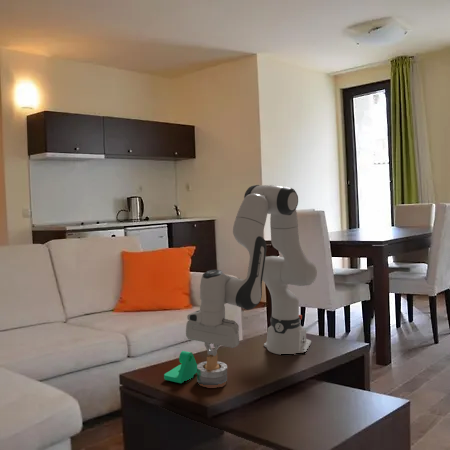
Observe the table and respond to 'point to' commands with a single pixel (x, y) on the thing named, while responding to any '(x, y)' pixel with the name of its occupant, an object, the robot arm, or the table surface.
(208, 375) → the knurled grey ring
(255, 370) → the table surface
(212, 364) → the orange stepped plug
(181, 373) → the camera mount
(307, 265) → the robot arm
